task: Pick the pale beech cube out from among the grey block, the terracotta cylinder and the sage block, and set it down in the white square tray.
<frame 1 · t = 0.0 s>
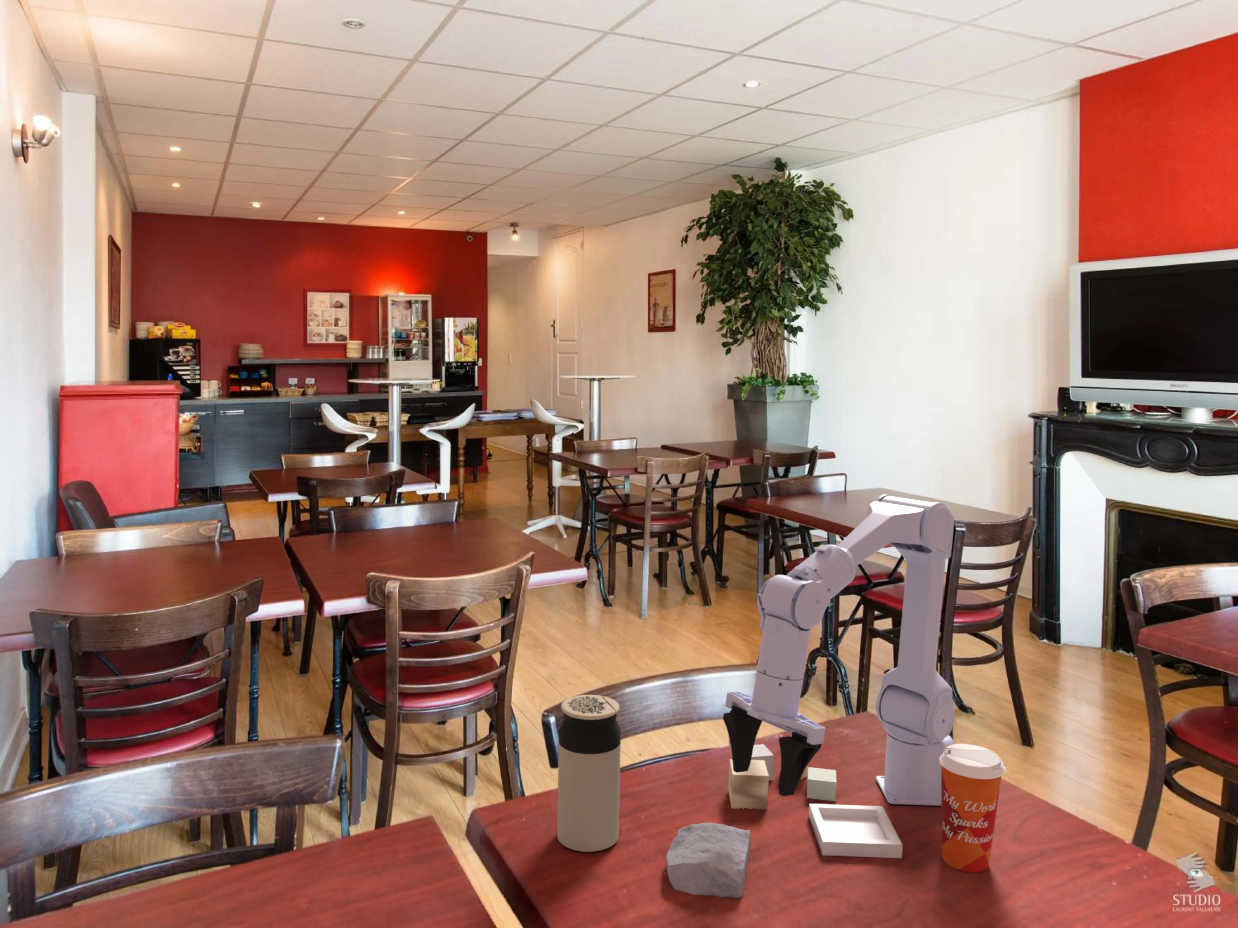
hand: (762, 782, 113), 11 cm above the table, tool pointing down, fingers open, 7 cm apart
stone block: (706, 871, 112), on the table
white square tray: (853, 835, 121), on the table
terracotta cylinder: (793, 773, 139), on the table
grey block: (755, 775, 138), on the table
travel mug: (587, 839, 119), on the table
beech cube: (747, 800, 130), on the table
paper cup: (965, 862, 115), on the table
sage block: (821, 794, 133), on the table
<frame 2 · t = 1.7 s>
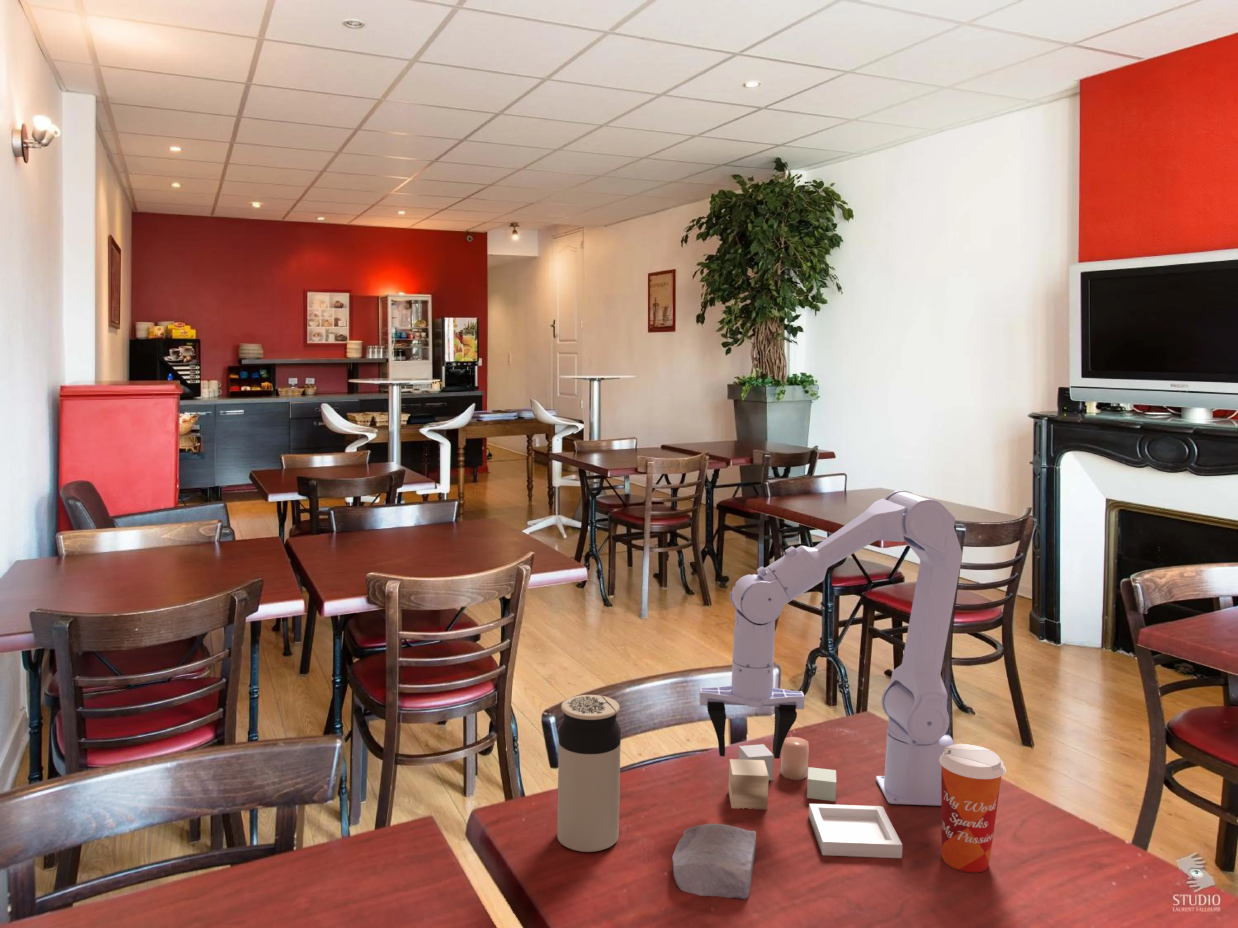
hand: (748, 754, 129), 7 cm above the table, tool pointing down, fingers open, 7 cm apart
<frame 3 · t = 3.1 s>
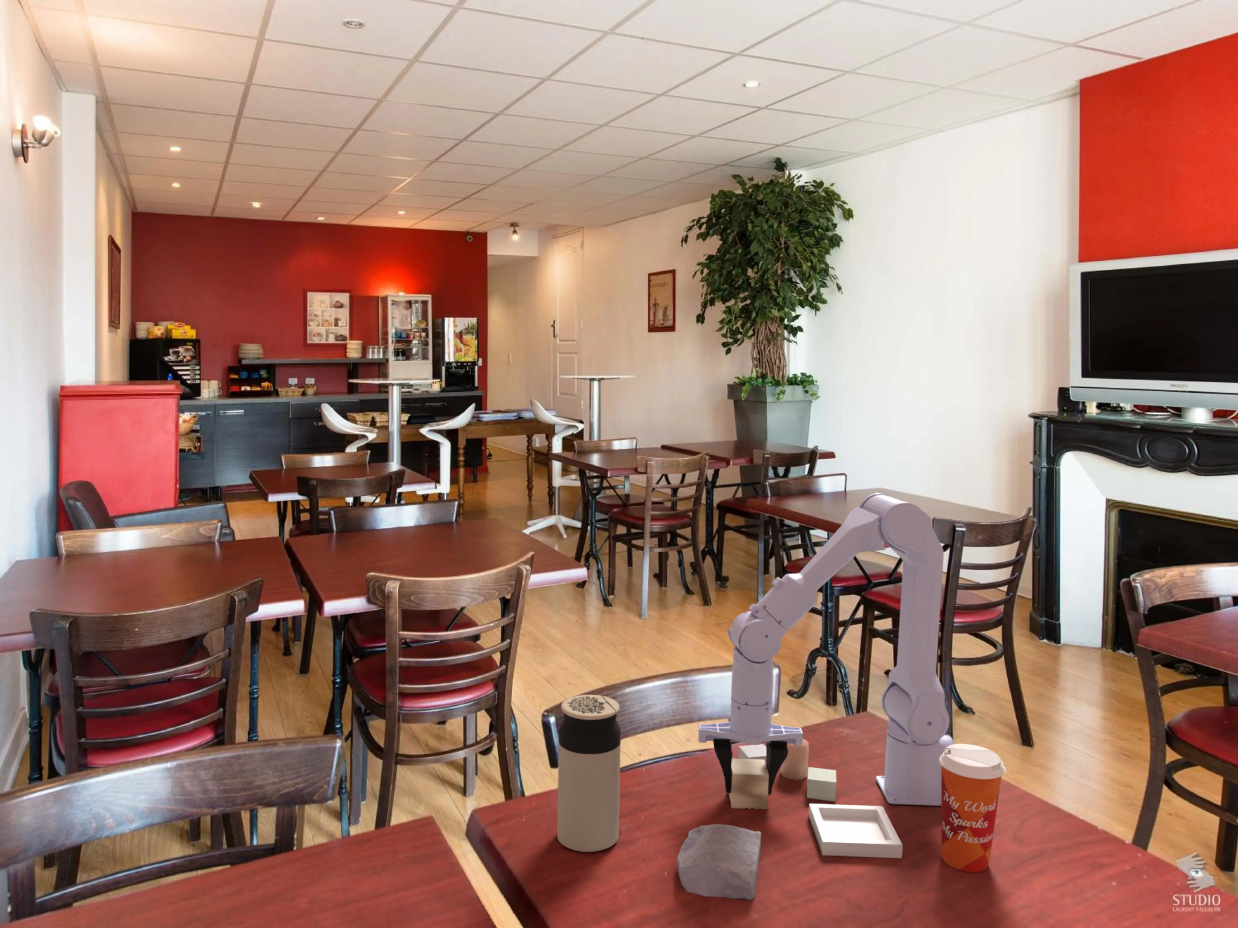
hand: (747, 790, 130), 1 cm above the table, tool pointing down, fingers closed on beech cube, 5 cm apart
beech cube: (747, 799, 130), on the table, touching gripper
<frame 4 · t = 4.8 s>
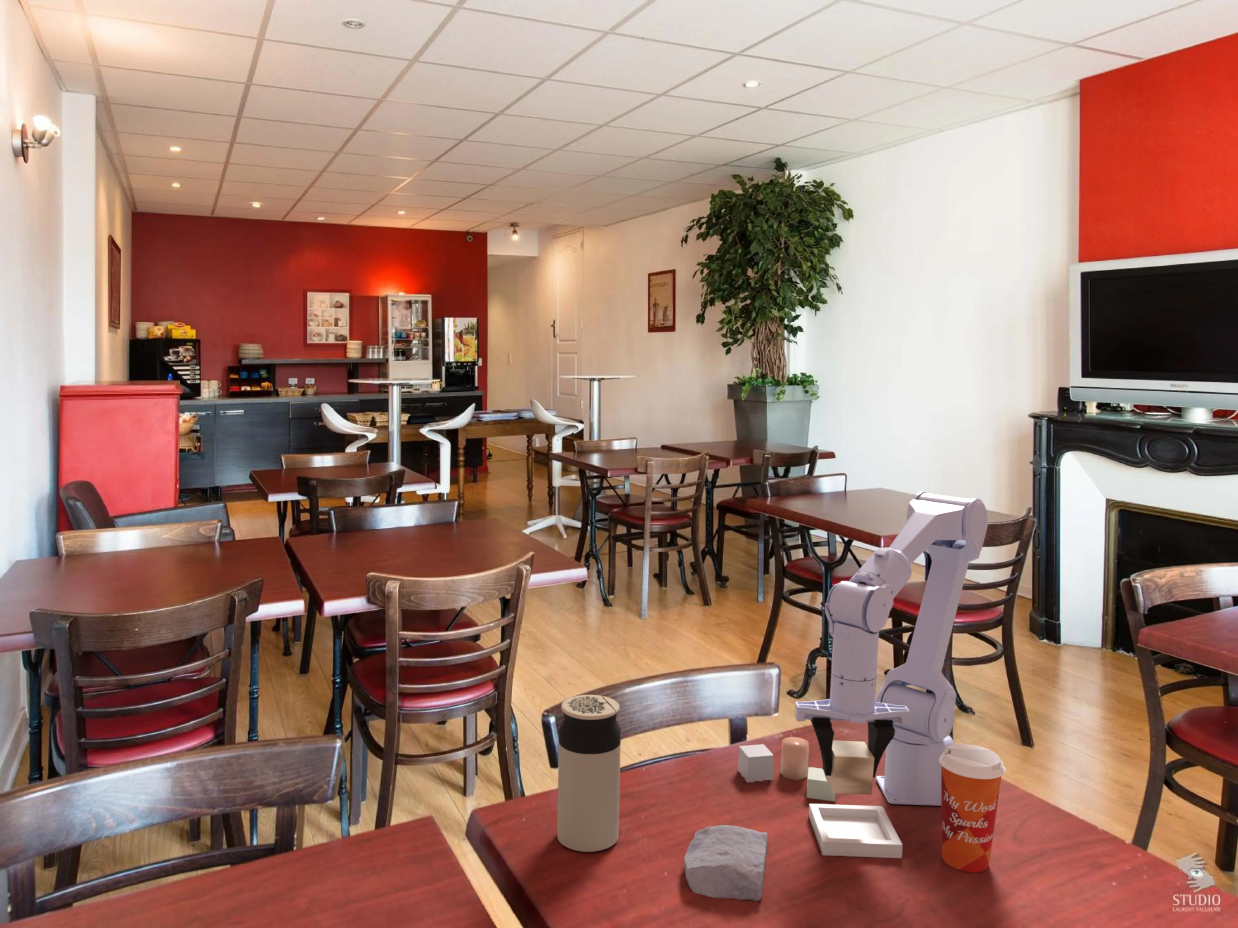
hand: (848, 773, 120), 8 cm above the table, tool pointing down, fingers closed on beech cube, 5 cm apart
beech cube: (847, 784, 121), point 7 cm above the table, touching gripper
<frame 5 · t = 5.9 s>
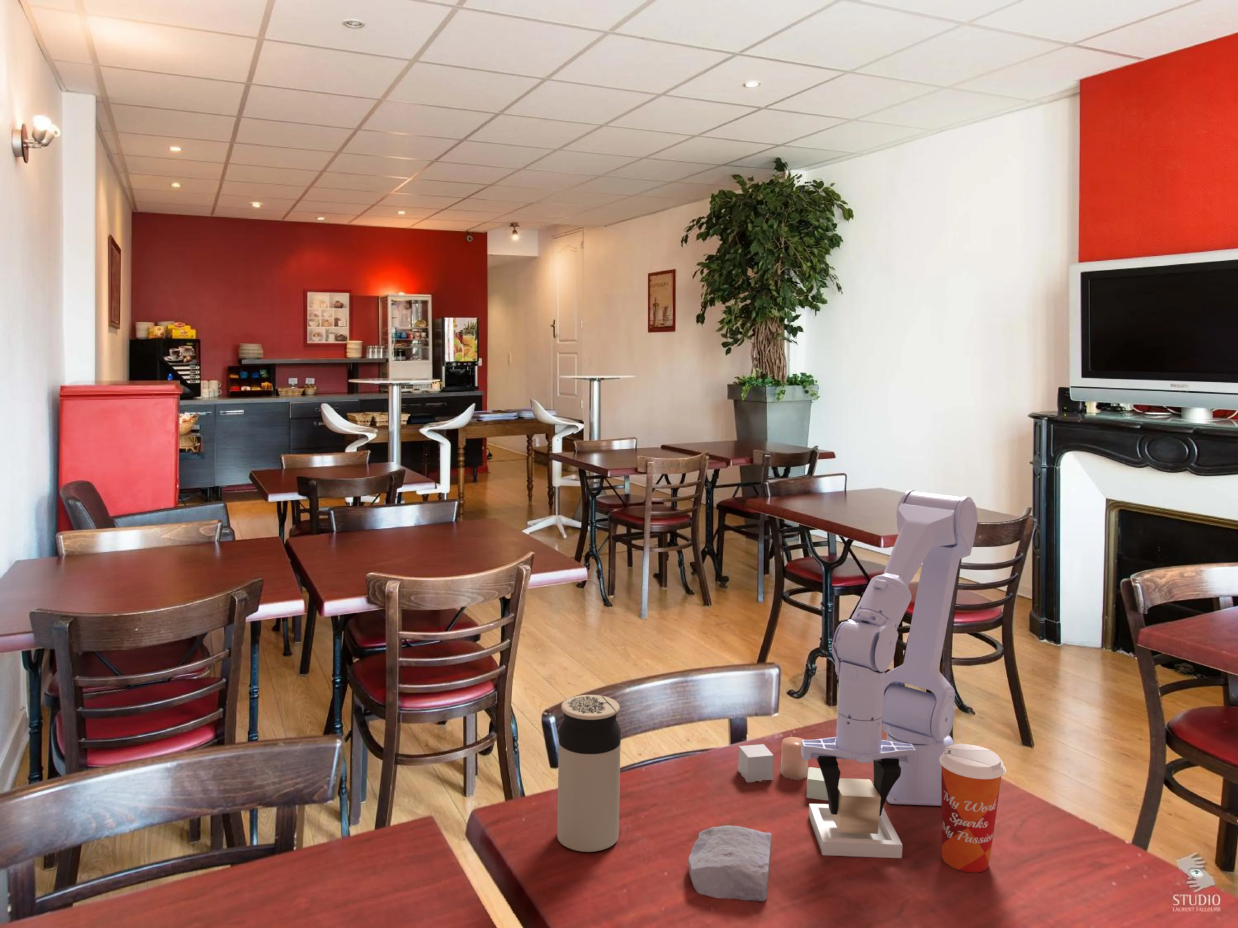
hand: (854, 811, 120), 3 cm above the table, tool pointing down, fingers closed on beech cube, 5 cm apart
beech cube: (853, 823, 120), point 2 cm above the table, touching gripper
when the fingers open (3 cm above the table, at t = 6.8 s): beech cube drops 1 cm, resting on white square tray.
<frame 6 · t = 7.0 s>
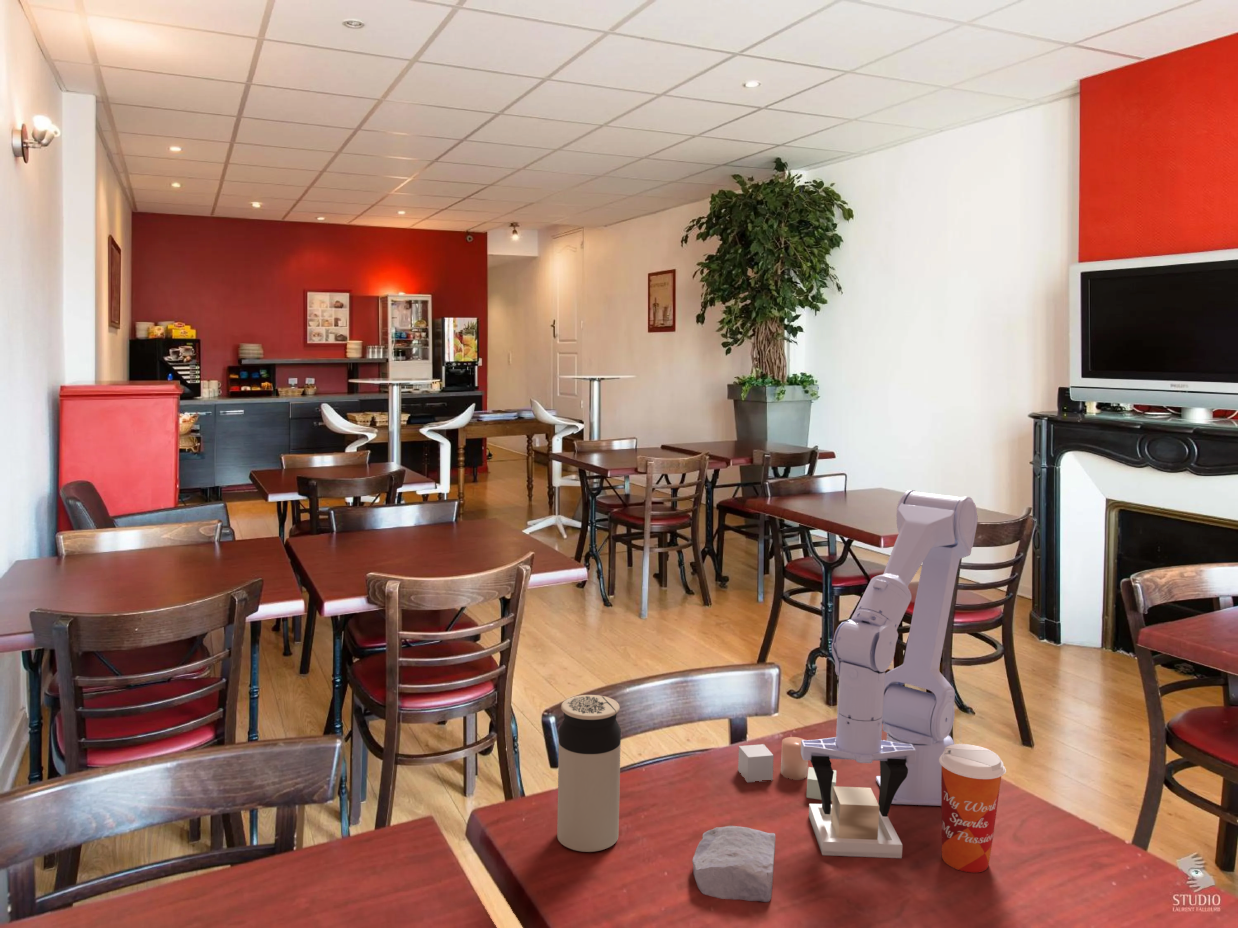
hand: (854, 811, 120), 3 cm above the table, tool pointing down, fingers open, 7 cm apart
beech cube: (853, 831, 121), point 1 cm above the table, touching white square tray
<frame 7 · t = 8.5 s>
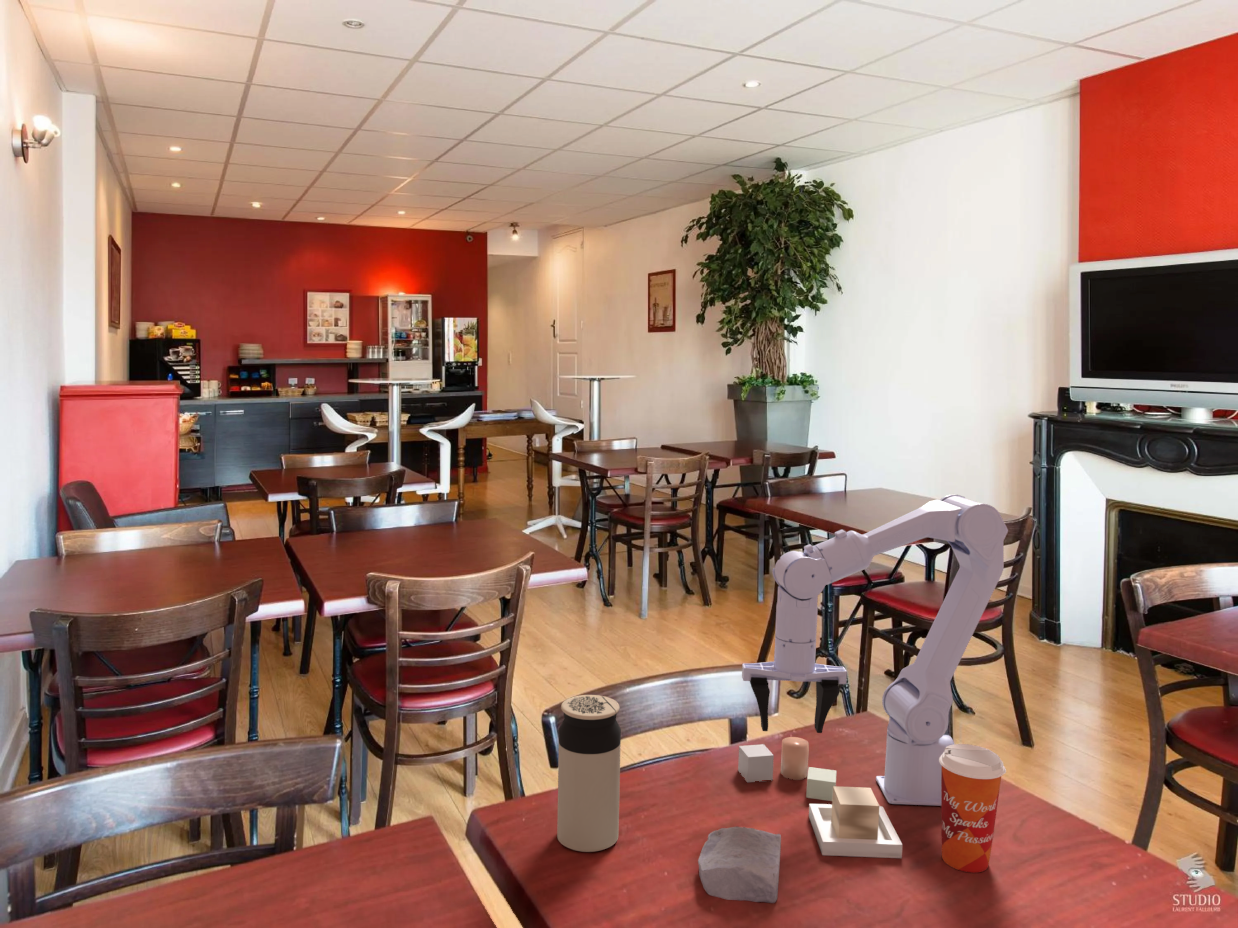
hand: (791, 729, 131), 10 cm above the table, tool pointing down, fingers open, 7 cm apart
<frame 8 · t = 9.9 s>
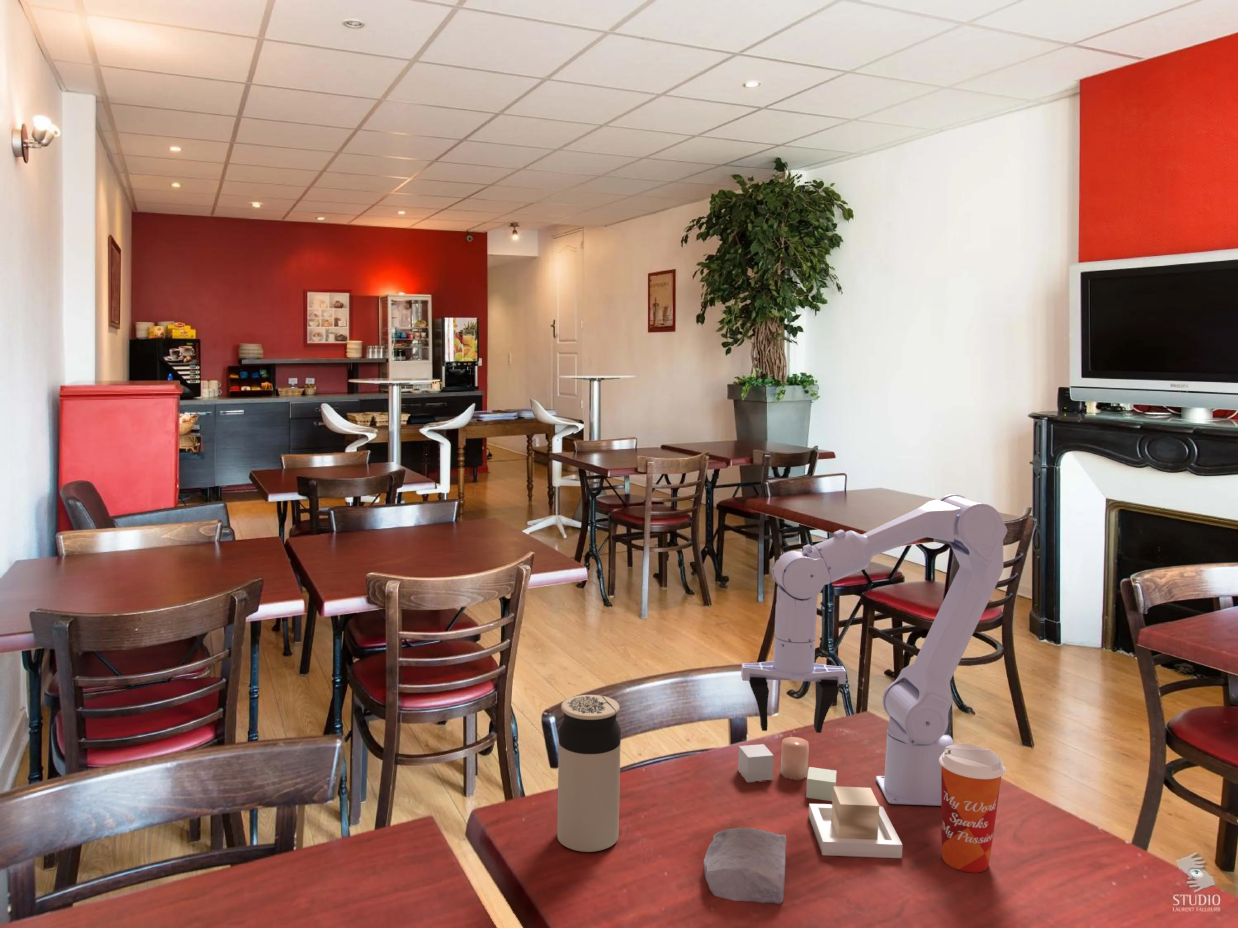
hand: (790, 728, 131), 10 cm above the table, tool pointing down, fingers open, 7 cm apart
at the end: beech cube inside the target area on the white square tray (0.1 cm from its centre), point 0.6 cm above the white square tray's base; the gripper is holding nothing; beech cube tilted 0° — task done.
